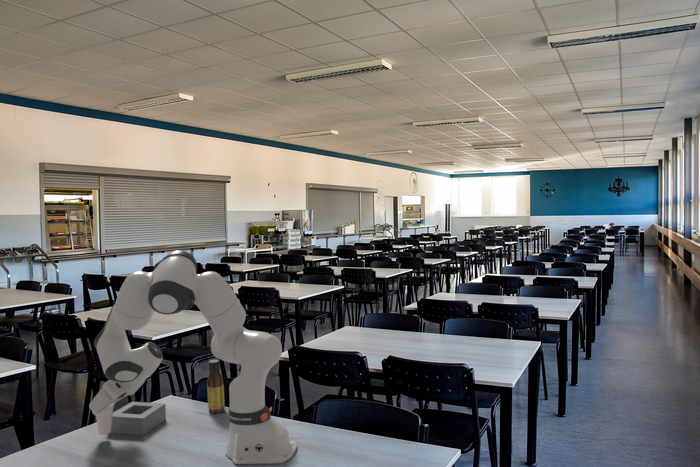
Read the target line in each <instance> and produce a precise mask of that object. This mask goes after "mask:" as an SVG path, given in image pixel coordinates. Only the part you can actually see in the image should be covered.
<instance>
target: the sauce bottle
mask: <svg viewBox="0 0 700 467" xmlns="http://www.w3.org/2000/svg"><path fill="white" fill-rule="evenodd" d="M208 366H209V374H208V377H207V380H206V387H207V388H206V390H207V408H208V411H209V412H210V413H212V414H218V413H222V412H223V411H225V408H226V407H225V405H226V404H225V386H224V385H225V384H224V377H223V375H222V373H221V371H220V359H210V360H209V361H208Z"/></svg>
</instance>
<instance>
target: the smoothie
mask: <svg viewBox="0 0 700 467" xmlns="http://www.w3.org/2000/svg"><path fill="white" fill-rule="evenodd" d="M114 408H115V404H112V405H110V406H108V407H107V408H105V409H103V410H102V411H101V412H100V413H99V414H97V415H95V419H96V424H97V429H98V434H99V435H100V436H102V435H103V436H104V435H108V434H111V433H110V432H111V427H112V416H113V412H114Z"/></svg>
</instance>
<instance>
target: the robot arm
mask: <svg viewBox="0 0 700 467" xmlns="http://www.w3.org/2000/svg"><path fill="white" fill-rule="evenodd" d="M153 266H154V268H153V269H154V270H153V271H151V272H147V271H142V270H141V271H140V270H139V271H135V272H132V273H130V274H128V276H126V278H125V279H124V281H123V283H122V285H121V287H120V288H119V291H118V294H117V297H116V300H115V302H114V303H113V305H112V307H111V309H110V311H109V313H108V316H107V317H106V318H107V319H106V321H105V322H104V326H103V327H102V328H101V330H100V331H99V332H98V334H97V335H96V336H95V338H94V340H93V344H94V348H95V350H96V353H97V354H98V358H99V362H100V364H101V367H102V371H103V374H104V376H105V378H106V379H108V380H106V382H104V383H103V384H102V386H101V387H102V388H101V389H100V390H99V391H98V393H97V394H95V396H94V397H93V399H92V400H91V401H90V403H89V405H88V407H89V409H90V410H91V411H92V412H91V413H92V414H93V416H96V415H97V414H99V413H100V412H101V411H102V410H103V409H105V408H107V407H108V406H110V405H112V404H114V405H115V404H116V403H117V402H118V401H121V400H122V399H124V398H126V397H127V396H132V395H134V394H136V392H137V391H138V390H139V389H140V388H141V387H142V385H143V384H144V383H145V381H146V380H147V378H149V377H151V376H152V375H153V373H154V372H155V371H156V370H157V369H158V367H159V366H160V364H161V363H162V361H163V358H164V356H163V352H162V350H161V348H160V347H159V346H158V345H157V344H156V343H154V342H152V341H149V342H146V343H144V344H142V346H141V347H138V348H133V349H132V347H131V344H130V342H129V340H128V335H127V331H136V330H137V331H138V330H140V329H143V328H145V327H146V326H147V325H148V324H149V323H150V322H151V321H152V318H153V316H154V312H156V313H158V314H161V315H175V314H178V313H181V312H182V311H188V310H190V309H191V308H192V307H193V306H194V305H196V306H197V308H198V309H199V310H200V312H201V314H202V315H203V318H204V319H205V320H206V321H207V323H208V325H209V326H210V328H211V330H212V331H213V336H212V338H211V341H210V350H211V353H212V355H213V357H215V358H217V359H218V360H221V361H224V362H225V363H231V364H236V365H240V374H239V376H237V377H235V378H234V379H233V380H232V381H231V382H230V383H229V387H228V390H229V407H228V417H227V418H228V425H229V429H228V430H229V431H228V439H227V445H226V448H225V455H226V457H228V458H229V459H231V461H232V462H233V464H235V465H253V464H254V465H259V464H262V465H263V464H268V465H269V464H283V463H285V462H287V461H288V460H290V459H292V457H293V456H294V455H295V453H296V451H297V449H298V448H297V443H296V441H295V440H290V436H289V432H288V429H287V428H286V427H285V426H284V425H282V423H280V422H279V421H277V420H276V419H274V418H273V417H272V416H271V412H272V411H273V409H272V408H273V407H272V406H270V407H268V406H267V405H266V402H265V399H266V397H265V395H266V394H265V393H266V391H265V390H266V380H267V376H268V374H269V372H270V370H271V369H272V368H273V367H274V366H275V365H276V364H277V363H278V362H279V361H280V359H281V357H282V354H283V347H282V346H283V345H282V342H281V340H280V338H279V337H278V336H276V335H273V334H271V333H268V332H266V331H259V330H258V331H257V330H250V329H247V328H246V327H244V326H243V325H244V323H245V320H246V317H247V313H246V311H245V308H244V307H243V305H242V304H241V302H240V300H239V299H238V297H237V295H236V294H235V291H234V289H232V287H231V286H230V284H229V283H228V282H227V281H226V280H225V279H224V277H223V276H221V274H220V273H218V272H216V271H212V270H211V271H205V272H202V273H197V272H198V264H197V260H196V258H195V257H194V256H193V254H191V253H190V252H188V251H186V250H182V249H181V250H173V251H171V252H169V253H167V254H166V255H165V256H164V257H162V258H161V260H159V261H158V262H157V263H155V264H154V265H153ZM126 330H127V331H126Z"/></svg>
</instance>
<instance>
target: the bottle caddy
mask: <svg viewBox="0 0 700 467" xmlns="http://www.w3.org/2000/svg"><path fill="white" fill-rule="evenodd" d="M166 411H167V410H166V403H161V402H160V403H159V402H142V401H141V402H140V401H131V402H129V403H127V404H126V405H124V406H122V407H120V408H119V409H117V410H115V411H113V416H112V427H111V432H110V433H109V434H119V435H120V434H122V435H133V436H145V435H146V434H148V433H149V432H151V431H152V430H153V429H155V428H156V427H157V426H159V425H160V424H162V423H164V422H165V421H166V419H167V417H166V416H167V412H166Z"/></svg>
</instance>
